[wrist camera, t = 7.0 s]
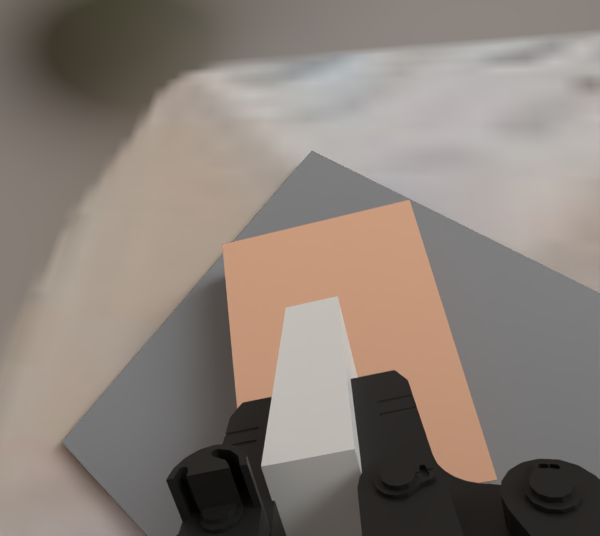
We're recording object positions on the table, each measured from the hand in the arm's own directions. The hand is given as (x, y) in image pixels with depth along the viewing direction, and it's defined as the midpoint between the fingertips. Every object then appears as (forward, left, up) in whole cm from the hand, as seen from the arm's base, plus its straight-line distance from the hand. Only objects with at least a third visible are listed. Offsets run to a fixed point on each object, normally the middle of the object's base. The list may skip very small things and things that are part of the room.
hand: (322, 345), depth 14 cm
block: (+3, +3, -7) cm, 8 cm away
